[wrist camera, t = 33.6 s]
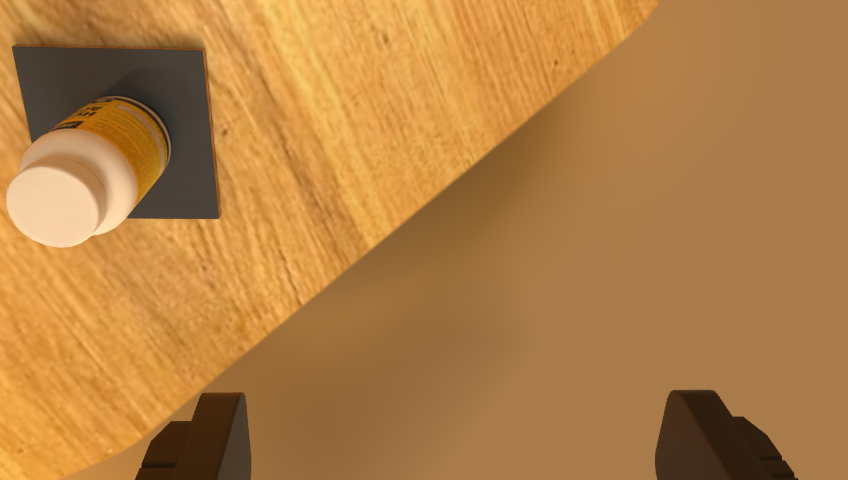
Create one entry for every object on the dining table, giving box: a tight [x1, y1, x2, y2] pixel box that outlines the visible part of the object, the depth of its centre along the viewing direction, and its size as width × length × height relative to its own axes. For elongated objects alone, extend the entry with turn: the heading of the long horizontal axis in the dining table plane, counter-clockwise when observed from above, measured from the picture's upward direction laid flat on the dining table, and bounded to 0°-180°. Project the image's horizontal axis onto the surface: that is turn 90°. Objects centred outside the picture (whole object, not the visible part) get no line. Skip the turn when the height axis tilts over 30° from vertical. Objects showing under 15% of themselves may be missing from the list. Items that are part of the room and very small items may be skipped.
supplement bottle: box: [6, 96, 171, 247], centre depth 37 cm, size 5×5×10 cm
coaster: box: [12, 44, 221, 219], centre depth 41 cm, size 10×10×1 cm
